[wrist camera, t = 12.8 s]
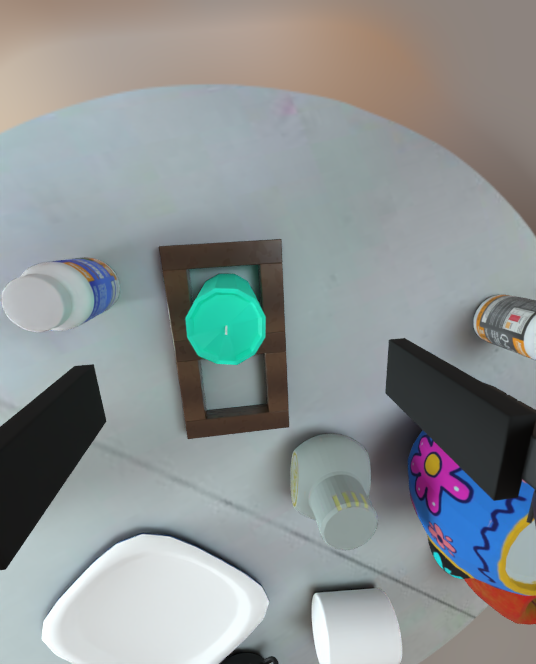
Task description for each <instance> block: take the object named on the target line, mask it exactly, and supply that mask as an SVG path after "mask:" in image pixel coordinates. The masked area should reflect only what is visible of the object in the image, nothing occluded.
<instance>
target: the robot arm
mask: <svg viewBox="0 0 536 664" xmlns="http://www.w3.org/2000/svg"><path fill="white" fill-rule="evenodd" d="M385 393H386V394H387V395H388V396H389V397H390V398H391V399H392V400H393V401H394V402H395V403H396V404H397V405H398V406H399V407H400V408H401V409H402V410H403V411H404V412H405V413H406V414H407V415H408V416H409V417H410V418H411V419H412V420H413V421H414V422H415V423H416V424H417V425H418V426H419V427H420V428H421V429H422V430H423V431H424V432H425V433H426V434H427V435H428V436H429V437H430V438H431V439H432V440H433V441H434V442H435V443H436V444H437V445H438V446H439V447H440V448H441V449H442V450H443V451H444V452H445V453H446V454H447V455H448V456H449V457H450V458H451V459H452V460H453V461H454V462H455V463H456V464H457V465H458V466H459V467H460V468H461V469H462V470H463V471H464V472H465V473H466V474H467V475H468V476H469V477H470V478H471V479H472V480H473V481H474V482H475V483H476V484H477V485H478V486H479V487H480V488H481V489H482V490H483V491H484V492H485V493H486V494H487V495H488V496H489V497H490V498H491V499H492V500H493V501H497V500H504V499H511V498H518V496H519V491H520V487H521V483H522V479H523V480H524V481H525V482H526V483H527V484H529V485H530V486H531V487H532V488H533V489H534V493H533V497H532V501H531V505H530V509H529V513H528V517H527V521H526V522H528V523H532V520H533V519H535V526H536V410H535V409H533V408H531V407H529V406H528V405H526V404H524V403H522V402H521V401H517V399H515V398H513V397H512V396H510V395H507V394H506V393H504V392H503V391H501V390H499V389H497V388H496V387H494V386H491V385H488V384H485V383H482V382H480V381H479V380H477V379H475V378H473V377H472V376H470V375H468V374H466V373H465V372H463V371H461V370H459V369H458V368H456V367H454V366H452V365H451V364H449V363H447V362H445V361H444V360H442V359H440V358H438V357H437V356H435V355H433V354H431V353H430V352H428V351H426V350H424V349H423V348H421V347H419V346H417V345H416V344H414V343H412V342H410V341H409V340H407V339H405V338H403V339H391V340H389V349H388V363H387V378H386V392H385ZM105 423H106V417H105V413H104V409H103V404H102V400H101V395H100V391H99V386H98V382H97V377H96V373H95V369H94V365H82V366H74V367H73V368H72V369H70V370H69V371H68V372H67V373H66V374H64V375H63V376H62V377H61V378H59V379H58V380H57V381H56V382H55V383H53V384H52V385H51V386H50V387H48V388H47V389H46V390H45V391H44V392H42V393H41V394H40V395H39V396H37V397H36V398H35V399H34V400H33V401H31V402H30V403H29V404H28V405H26V406H25V407H24V408H23V409H22V410H20V411H19V412H18V413H17V414H15V415H14V416H13V417H12V418H11V419H9V420H8V421H7V422H6V423H4V424H3V425H2V426H1V427H0V570H5V569H6V568H7V567H8V565H9V564H10V562H11V561H12V559H13V558H14V557H15V555H16V554H17V552H18V551H19V549H20V548H21V546H22V545H23V543H24V542H25V540H26V539H27V537H28V536H29V534H30V533H31V531H32V530H33V529H34V527H35V526H36V524H37V523H38V521H39V520H40V518H41V517H42V515H43V514H44V512H45V511H46V509H47V508H48V506H49V505H50V504H51V502H52V501H53V499H54V498H55V496H56V495H57V493H58V492H59V490H60V489H61V487H62V486H63V484H64V483H65V481H66V480H67V478H68V477H69V476H70V474H71V473H72V471H73V470H74V468H75V467H76V465H77V464H78V462H79V461H80V459H81V458H82V456H83V455H84V453H85V452H86V450H87V449H88V448H89V446H90V445H91V443H92V442H93V440H94V439H95V437H96V436H97V434H98V433H99V431H100V430H101V428H102V427H103V425H104V424H105Z"/></svg>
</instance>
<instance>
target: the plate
mask: <svg viewBox="0 0 536 664" xmlns="http://www.w3.org/2000/svg"><path fill="white" fill-rule="evenodd" d="M268 604H269V599H268V597H267V595H266V593H265V591H264V589H263V587H262V585H261V584H259V583H258V582H257V581H255V580H254V579H253V578H251V577H250V576H249V575H247V574H246V573H244V572H243V571H241V570H240V569H238V568H236V567H234V566H233V565H231V564H229V563H227V562H225V561H224V560H222V559H220V558H218V557H216V556H214V555H213V554H211V553H209V552H207V551H205V550H203V549H201V548H199V547H198V546H195V545H193V544H190V543H188V542H186V541H183V540H181V539H178V538H176V537H173V536H171V535H162V534H150V533H141V534H138V535H135V536H133V537H130V538H128V539H125V540H122V541H120V542H117V543H116V544H115V545H113V546H112V547H111V548H110V549H108V550H107V551H106V552H105V553H104V554H102V555H101V556H100V557H99V558H98V559H96V560H95V561H94V562H93V563H92V564H91V565H90V566H89V567H88V568H87V569H86V570H85V572H84V573H83V574H82V575H81V576H80V577H79V578H78V579H77V580H76V581H75V582H74V583H73V584H72V585H71V586H70V587H69V589H68V590H67V591H66V592H65V593H64V594H63V595H62V596H61V597H60V599H59V600H58V601H57V602H56V604H55V605H54V607H53V608H52V610H51V611H50V612H49V614H48V615H47V617H46V618H45V620H44V622H43V633H42V640H43V641H44V642H45V643H46V645H47V646H48V647H49V648H50V649H51V650H52V651H53V652H54V653H55V654H56V655H57V656H59V657H61V658H63V659H65V660H67V661H69V662H71V663H73V664H219V663H220V662H221V661H222V660H223V659H224V658H226V657H227V656H228V655H229V654H230V653H231V652H232V651H233V650H234V649H235V648H236V647H237V646H238V645H240V644H241V643H242V642H243V641H244V640H245V639H246V638H247V637H248V636H249V635H250V634H251V633H252V632H253V630H254V629H255V628H256V627H257V626H258V625H259V623H260V622H261V621H262V620H263V619H264V616H265V613H266V610H267V607H268Z"/></svg>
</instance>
